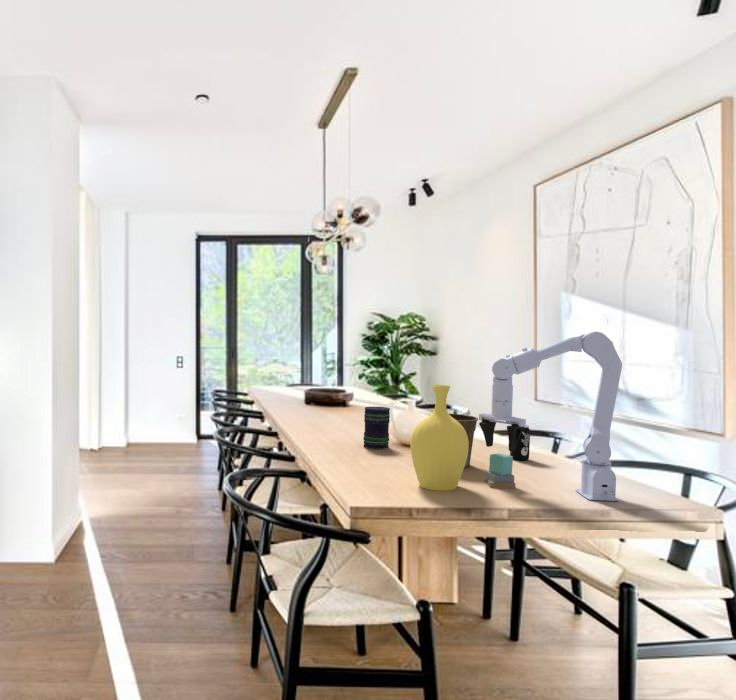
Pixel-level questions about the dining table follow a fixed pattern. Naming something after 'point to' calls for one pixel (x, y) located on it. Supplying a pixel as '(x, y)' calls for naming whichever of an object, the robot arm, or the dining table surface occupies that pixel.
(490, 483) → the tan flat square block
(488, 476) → the grey slab
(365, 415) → the storage jar
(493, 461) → the teal block
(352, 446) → the dining table surface
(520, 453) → the beverage can
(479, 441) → the dining table surface
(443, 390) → the vase
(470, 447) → the plant pot
